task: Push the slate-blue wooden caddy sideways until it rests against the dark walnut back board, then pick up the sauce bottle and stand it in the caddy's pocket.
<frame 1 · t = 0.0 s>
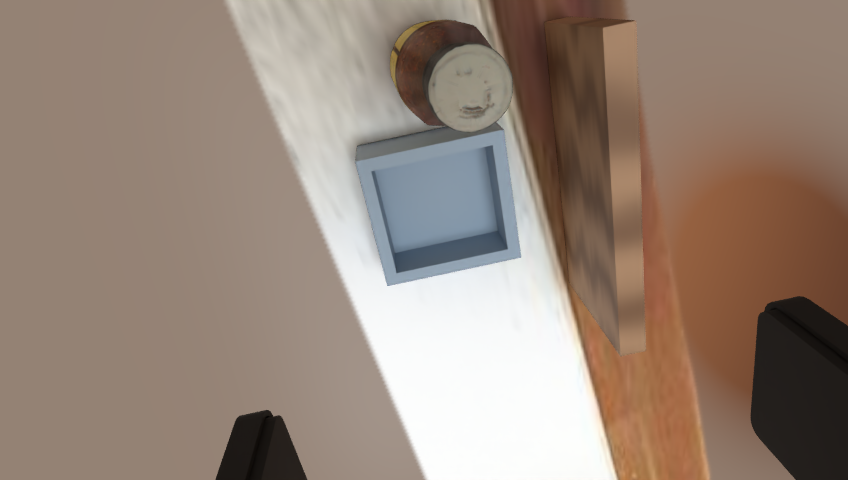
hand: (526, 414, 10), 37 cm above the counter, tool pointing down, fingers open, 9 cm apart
caddy: (436, 192, 47), on the counter
sauce bottle: (428, 60, 43), on the counter
back board: (569, 163, 47), on the counter
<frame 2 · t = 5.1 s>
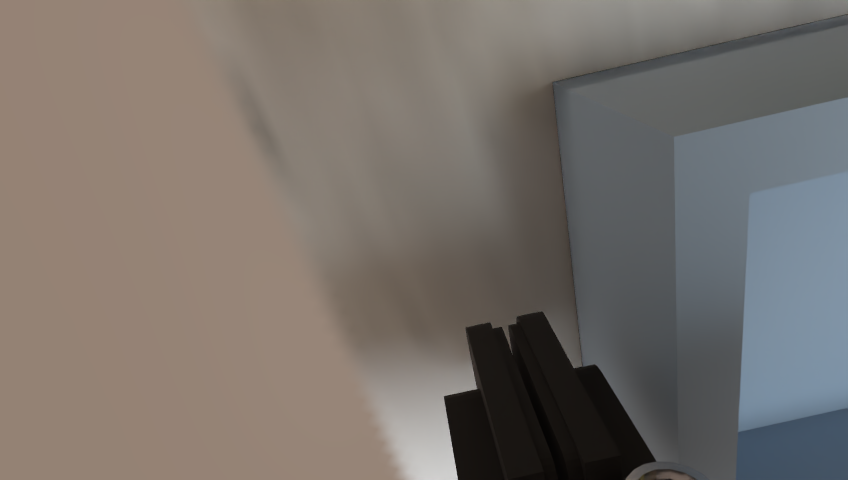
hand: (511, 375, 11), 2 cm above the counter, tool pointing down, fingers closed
caddy: (800, 252, 13), on the counter, touching gripper
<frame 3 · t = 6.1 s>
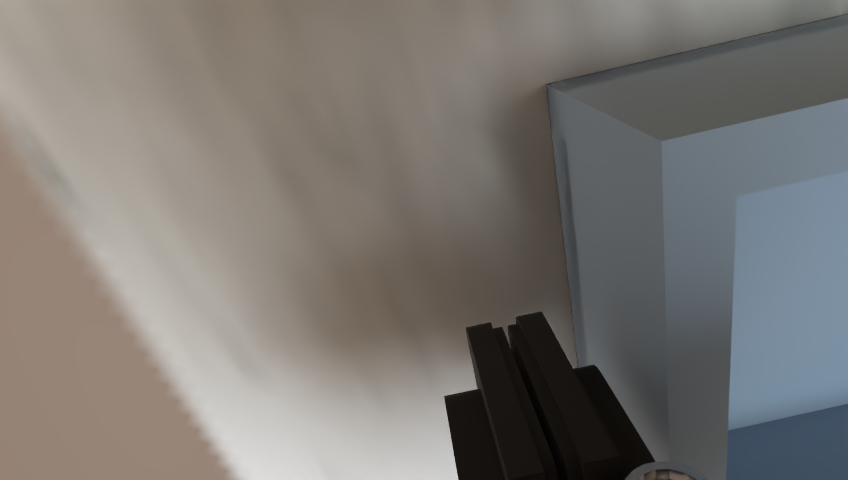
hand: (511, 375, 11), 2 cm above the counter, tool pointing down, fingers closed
caddy: (793, 251, 13), on the counter, touching back board, gripper
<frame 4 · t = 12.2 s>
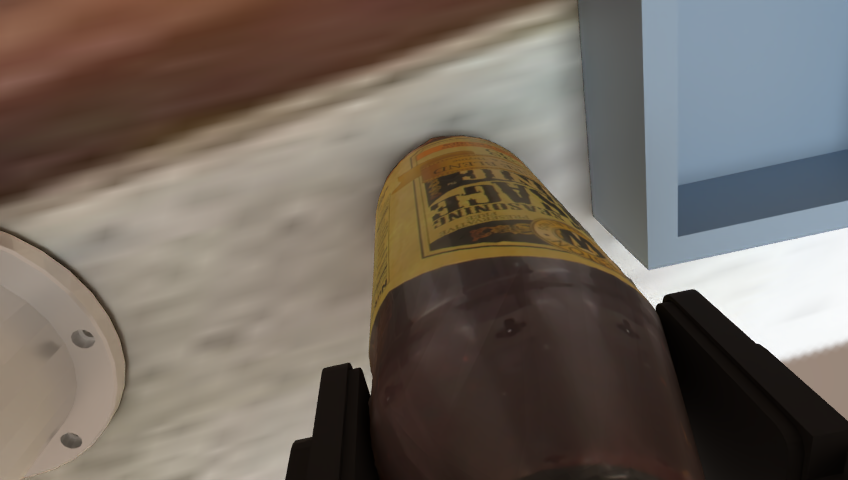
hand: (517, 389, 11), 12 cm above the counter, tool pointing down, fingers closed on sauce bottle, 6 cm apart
caddy: (726, 45, 20), on the counter
sauce bottle: (447, 200, 22), on the counter, touching gripper
when the fingers open (14 cm above the counter, at t = 19.4 s): sauce bottle drops 1 cm, resting on caddy.
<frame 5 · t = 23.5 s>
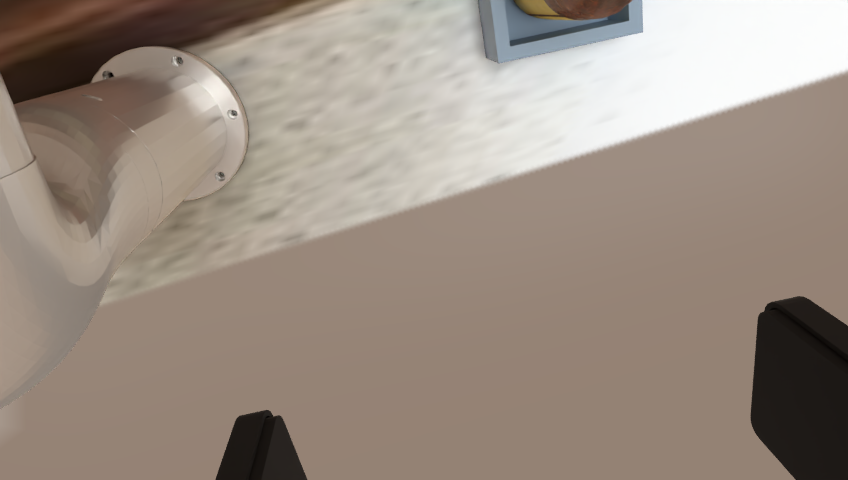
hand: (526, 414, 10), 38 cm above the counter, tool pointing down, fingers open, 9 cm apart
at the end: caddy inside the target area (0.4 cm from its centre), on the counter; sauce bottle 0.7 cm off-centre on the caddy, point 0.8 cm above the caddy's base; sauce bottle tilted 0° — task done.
